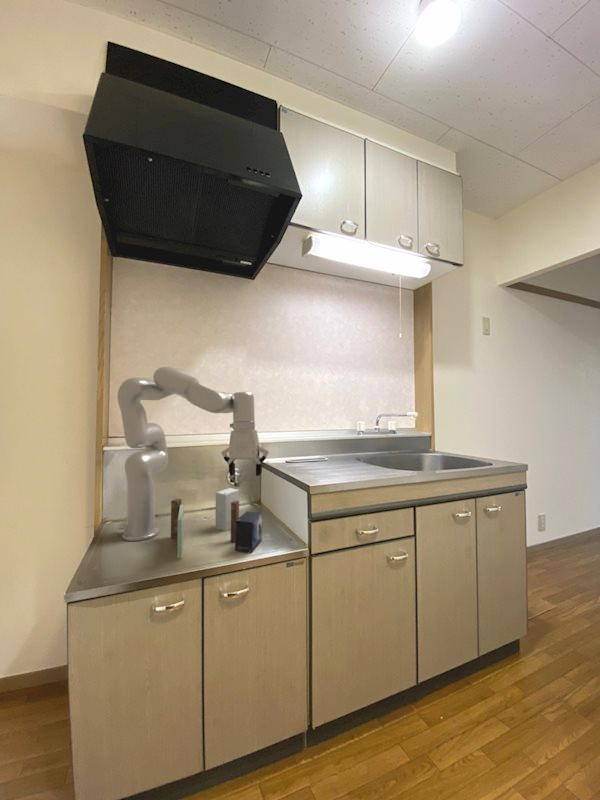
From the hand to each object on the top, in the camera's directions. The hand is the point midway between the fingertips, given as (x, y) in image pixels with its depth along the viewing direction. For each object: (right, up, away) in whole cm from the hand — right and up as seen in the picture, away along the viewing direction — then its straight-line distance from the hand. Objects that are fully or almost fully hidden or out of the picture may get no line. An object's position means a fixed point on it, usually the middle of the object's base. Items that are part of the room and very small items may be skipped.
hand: (245, 475), depth 116 cm
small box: (+2, -25, -1) cm, 25 cm away
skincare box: (-10, -25, +17) cm, 32 cm away
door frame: (-16, -25, +5) cm, 30 cm away
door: (-23, -24, -3) cm, 33 cm away
